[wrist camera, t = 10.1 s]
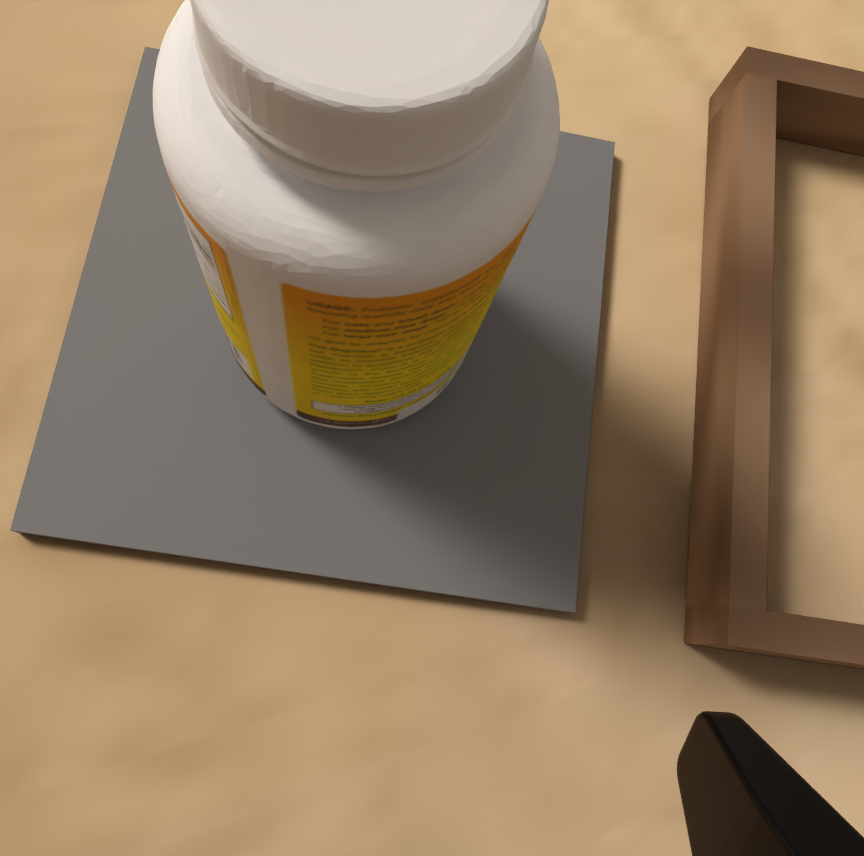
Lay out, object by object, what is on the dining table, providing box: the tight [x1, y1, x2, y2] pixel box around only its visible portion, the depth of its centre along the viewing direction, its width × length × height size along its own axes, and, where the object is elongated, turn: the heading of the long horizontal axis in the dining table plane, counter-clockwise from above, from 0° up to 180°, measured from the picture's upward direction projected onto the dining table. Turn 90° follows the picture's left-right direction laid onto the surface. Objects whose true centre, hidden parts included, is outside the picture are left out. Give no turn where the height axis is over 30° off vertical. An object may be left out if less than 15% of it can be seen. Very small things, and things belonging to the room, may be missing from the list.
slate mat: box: [11, 47, 615, 613], centre depth 18 cm, size 12×12×1 cm
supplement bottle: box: [153, 0, 560, 429], centre depth 13 cm, size 6×6×10 cm
